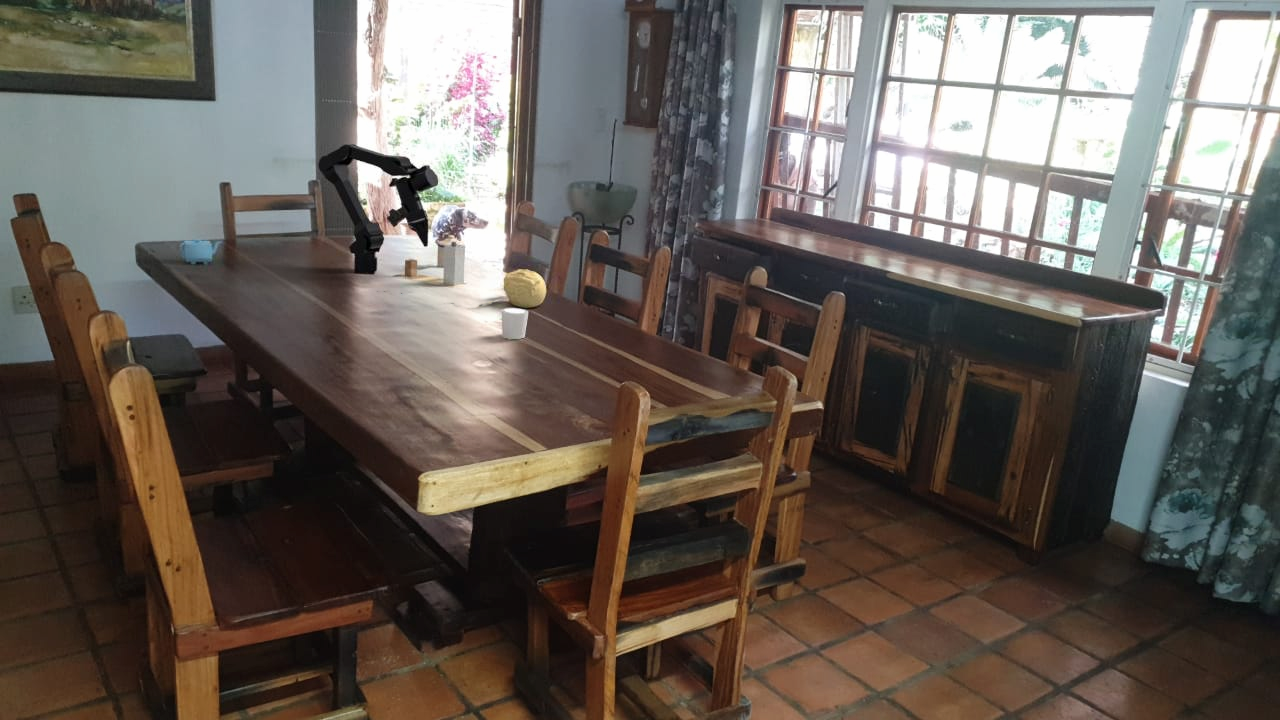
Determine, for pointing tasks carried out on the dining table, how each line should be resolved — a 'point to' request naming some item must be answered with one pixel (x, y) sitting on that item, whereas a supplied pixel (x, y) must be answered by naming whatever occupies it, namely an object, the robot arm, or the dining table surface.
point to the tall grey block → (454, 264)
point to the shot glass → (514, 323)
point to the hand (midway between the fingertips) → (426, 245)
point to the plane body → (412, 275)
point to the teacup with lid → (441, 248)
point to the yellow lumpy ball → (524, 288)
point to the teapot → (198, 251)
